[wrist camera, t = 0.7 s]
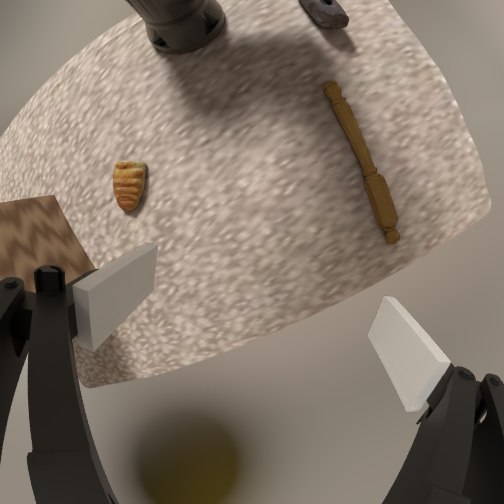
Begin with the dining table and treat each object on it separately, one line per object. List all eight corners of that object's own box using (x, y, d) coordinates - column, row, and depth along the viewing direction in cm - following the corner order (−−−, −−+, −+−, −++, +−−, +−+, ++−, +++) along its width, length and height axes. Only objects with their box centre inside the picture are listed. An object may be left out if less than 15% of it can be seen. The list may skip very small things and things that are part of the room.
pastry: (146, 210, 47) (136, 212, 43) (116, 209, 47) (105, 211, 44) (148, 159, 45) (139, 158, 41) (118, 160, 45) (108, 159, 41)
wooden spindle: (338, 78, 37) (404, 241, 42) (334, 84, 40) (397, 238, 45) (322, 83, 37) (390, 248, 42) (319, 89, 40) (383, 244, 45)
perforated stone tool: (284, -9, 34) (285, -29, 28) (306, -14, 33) (309, -33, 27) (323, 39, 37) (330, 20, 30) (346, 33, 36) (355, 15, 29)
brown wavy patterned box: (15, 252, 52) (-70, 288, 21) (54, 195, 47) (-61, 215, 17) (50, 314, 55) (-29, 373, 25) (96, 269, 50) (-15, 336, 20)
